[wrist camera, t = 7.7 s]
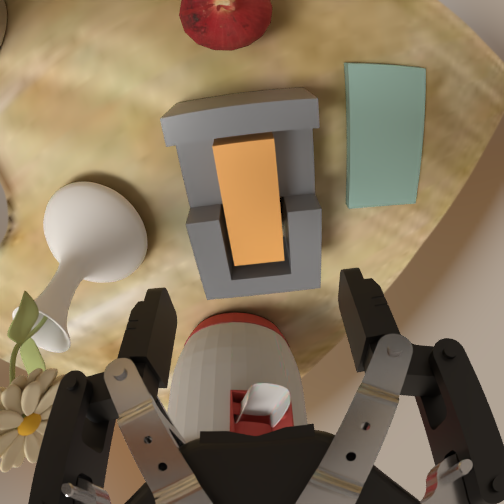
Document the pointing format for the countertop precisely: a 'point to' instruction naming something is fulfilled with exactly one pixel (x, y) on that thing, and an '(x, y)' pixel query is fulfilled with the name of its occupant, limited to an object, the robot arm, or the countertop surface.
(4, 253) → the countertop surface
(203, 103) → the kitting block
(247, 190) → the plank
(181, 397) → the citrus juicer
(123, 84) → the countertop surface
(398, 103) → the mat
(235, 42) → the onion
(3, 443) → the flower in vase
